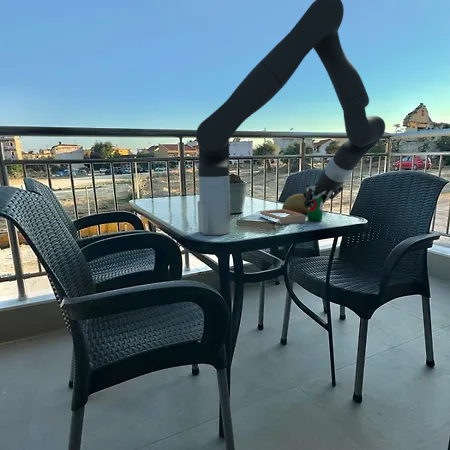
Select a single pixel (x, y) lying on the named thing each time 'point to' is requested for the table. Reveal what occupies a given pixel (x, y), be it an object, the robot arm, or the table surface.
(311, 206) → the soda can
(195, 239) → the table surface
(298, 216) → the tray
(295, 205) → the bread roll
